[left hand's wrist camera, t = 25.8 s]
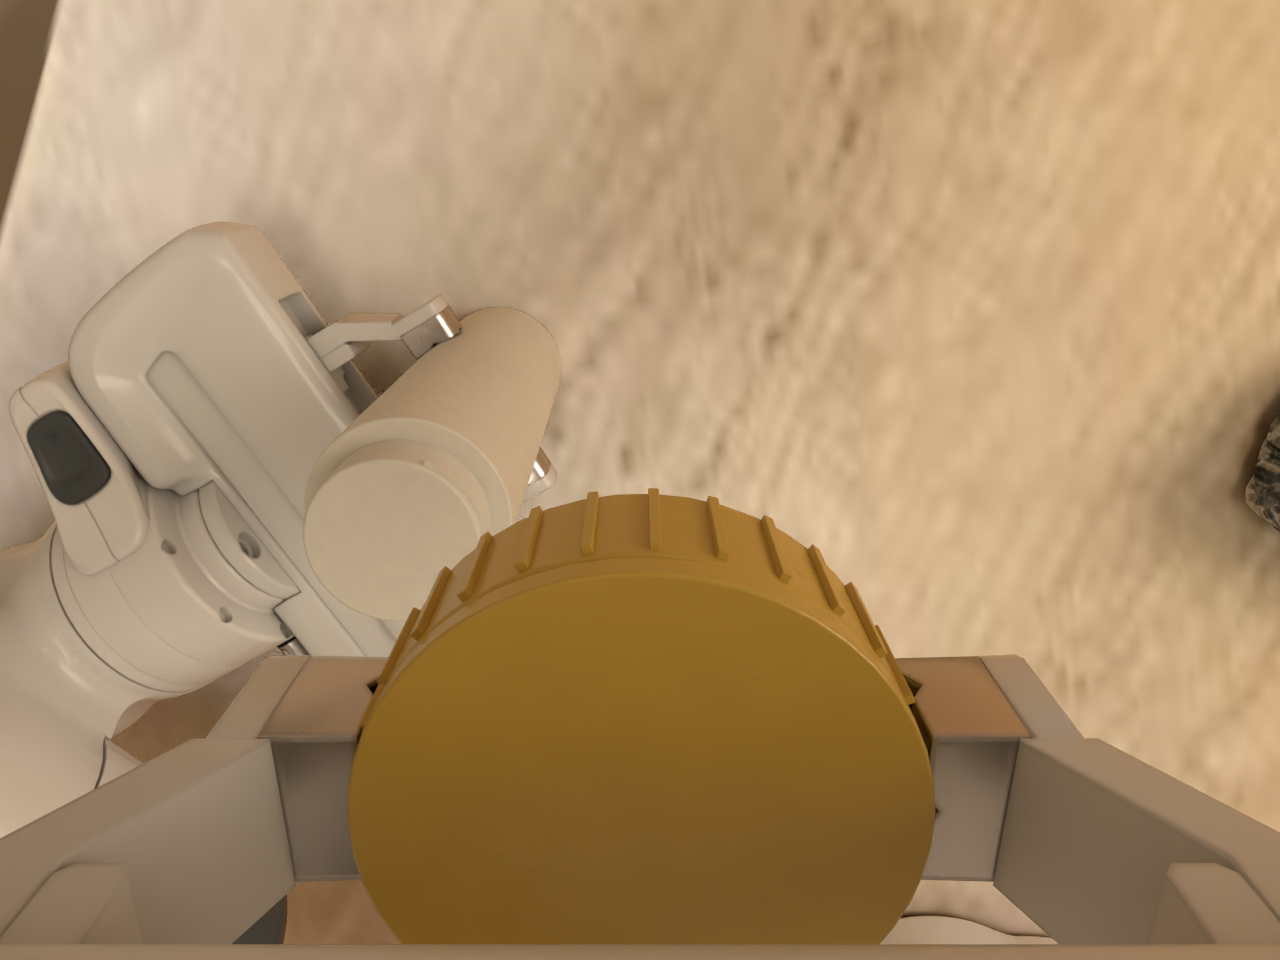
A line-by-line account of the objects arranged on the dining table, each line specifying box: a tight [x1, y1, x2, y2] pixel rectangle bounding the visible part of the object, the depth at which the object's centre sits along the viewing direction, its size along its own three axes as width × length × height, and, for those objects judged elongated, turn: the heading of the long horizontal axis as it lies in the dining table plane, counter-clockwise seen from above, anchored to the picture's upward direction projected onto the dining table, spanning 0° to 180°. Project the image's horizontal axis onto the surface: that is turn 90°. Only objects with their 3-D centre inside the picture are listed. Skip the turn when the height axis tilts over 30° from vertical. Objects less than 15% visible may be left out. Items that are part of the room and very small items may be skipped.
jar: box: [303, 307, 561, 621], centre depth 30 cm, size 5×5×19 cm
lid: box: [348, 488, 935, 944], centre depth 9 cm, size 6×6×2 cm
